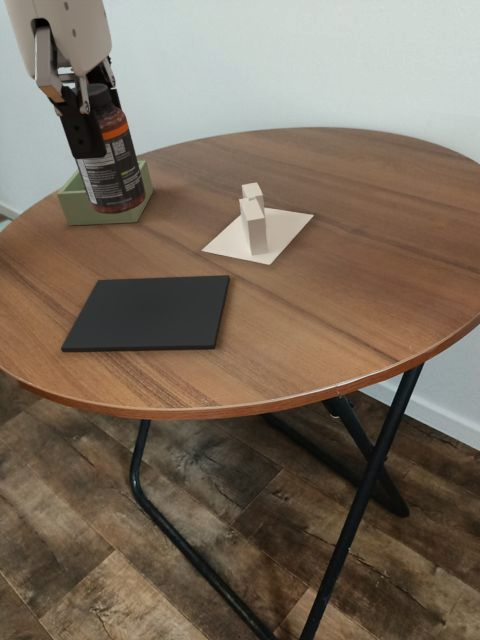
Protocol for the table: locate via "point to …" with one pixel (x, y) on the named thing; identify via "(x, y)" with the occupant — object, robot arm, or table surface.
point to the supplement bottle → (111, 159)
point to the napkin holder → (257, 230)
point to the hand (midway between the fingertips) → (101, 142)
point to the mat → (150, 314)
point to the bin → (80, 207)
